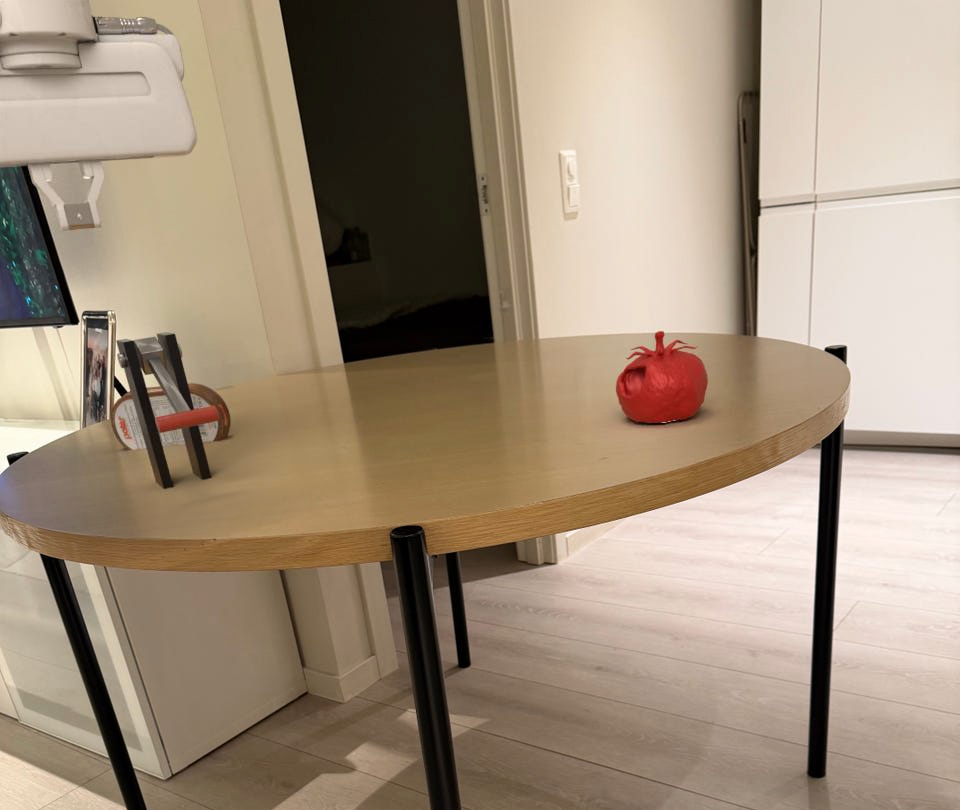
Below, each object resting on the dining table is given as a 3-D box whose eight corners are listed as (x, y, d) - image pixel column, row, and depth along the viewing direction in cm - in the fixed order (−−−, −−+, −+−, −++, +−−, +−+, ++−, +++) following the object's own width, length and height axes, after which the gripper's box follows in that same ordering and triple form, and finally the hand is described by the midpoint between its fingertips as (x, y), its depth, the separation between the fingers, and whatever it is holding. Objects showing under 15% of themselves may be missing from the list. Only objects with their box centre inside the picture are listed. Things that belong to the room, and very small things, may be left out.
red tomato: (704, 404, 102) (703, 319, 98) (712, 423, 94) (711, 331, 90) (618, 412, 104) (613, 329, 100) (617, 431, 95) (612, 341, 91)
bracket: (235, 491, 92) (196, 332, 86) (157, 509, 89) (111, 346, 82) (212, 475, 100) (175, 328, 94) (140, 491, 97) (96, 341, 90)
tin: (238, 444, 114) (222, 378, 111) (229, 450, 112) (213, 382, 108) (129, 456, 117) (110, 390, 113) (118, 462, 114) (98, 395, 110)
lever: (220, 428, 84) (217, 405, 82) (161, 440, 81) (157, 418, 80) (175, 355, 92) (171, 333, 90) (120, 364, 89) (115, 342, 88)
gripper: (166, 25, 70) (204, 218, 76) (-131, 26, 62) (-62, 242, 68) (182, 8, 65) (222, 216, 71) (-139, 6, 57) (-63, 241, 63)
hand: (81, 229), depth 70 cm, fingers closed
